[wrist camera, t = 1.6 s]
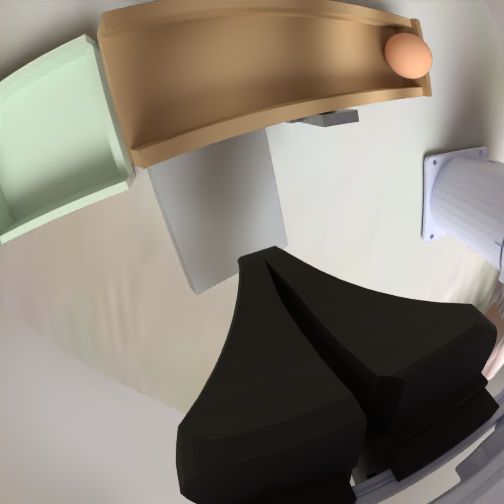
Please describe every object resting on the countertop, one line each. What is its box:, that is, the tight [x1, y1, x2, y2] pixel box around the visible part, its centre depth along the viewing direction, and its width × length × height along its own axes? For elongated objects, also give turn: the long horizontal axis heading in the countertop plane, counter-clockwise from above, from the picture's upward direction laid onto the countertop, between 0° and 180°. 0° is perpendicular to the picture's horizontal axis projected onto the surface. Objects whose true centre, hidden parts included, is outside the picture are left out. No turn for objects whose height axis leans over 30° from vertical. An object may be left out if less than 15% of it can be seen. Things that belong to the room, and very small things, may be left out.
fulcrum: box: [287, 0, 359, 127], centre depth 13 cm, size 10×7×5 cm
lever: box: [97, 0, 432, 295], centre depth 13 cm, size 18×11×3 cm, turn 102°
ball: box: [385, 33, 432, 79], centre depth 13 cm, size 3×3×3 cm
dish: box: [0, 34, 136, 245], centre depth 13 cm, size 10×9×4 cm
